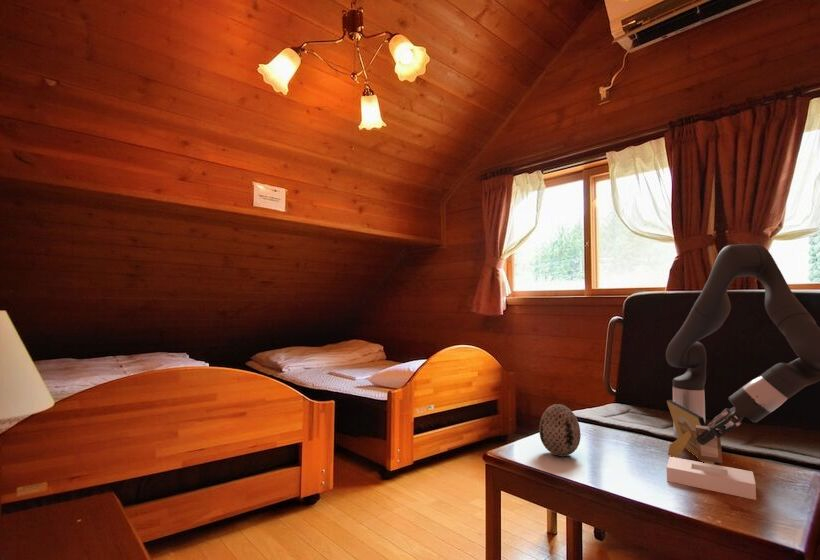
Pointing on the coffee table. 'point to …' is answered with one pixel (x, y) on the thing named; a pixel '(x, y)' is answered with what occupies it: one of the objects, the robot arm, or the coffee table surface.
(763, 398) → the robot arm
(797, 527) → the coffee table surface
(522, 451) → the coffee table surface
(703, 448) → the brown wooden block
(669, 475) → the notch stand
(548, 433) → the decorative egg
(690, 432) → the picture frame
